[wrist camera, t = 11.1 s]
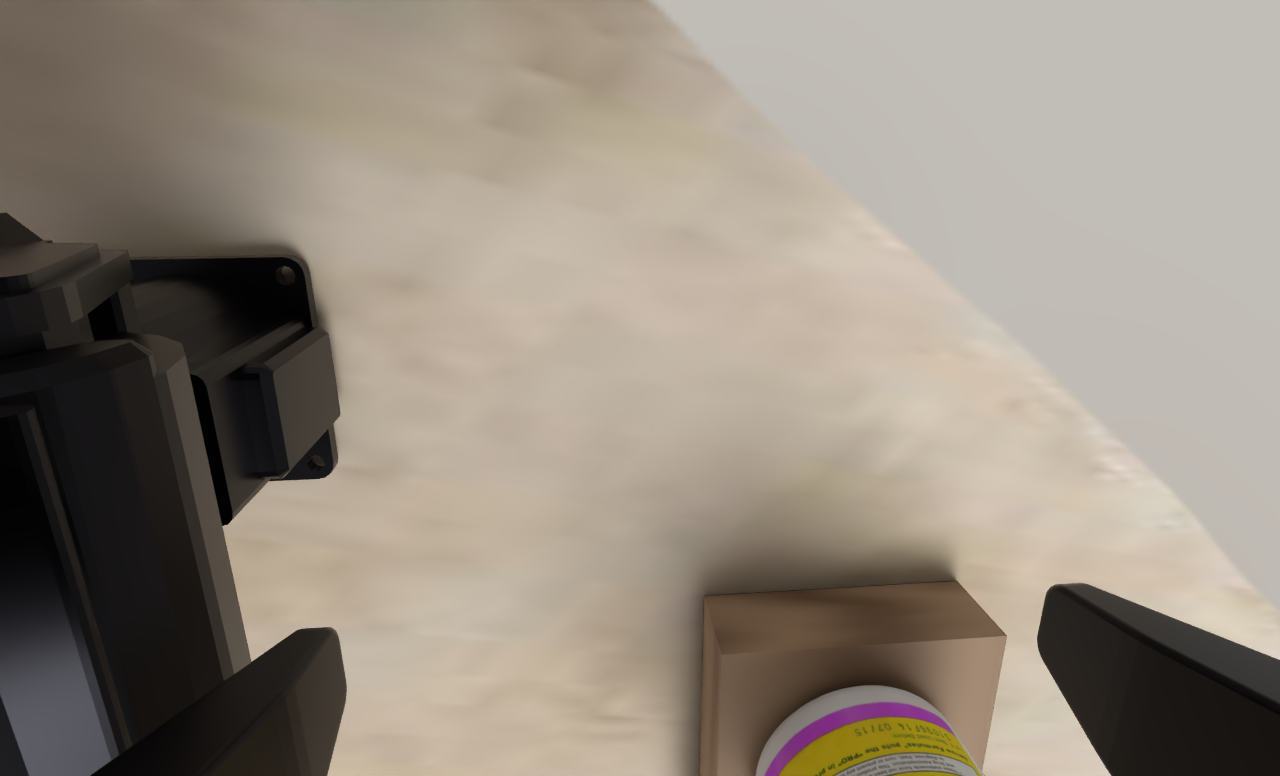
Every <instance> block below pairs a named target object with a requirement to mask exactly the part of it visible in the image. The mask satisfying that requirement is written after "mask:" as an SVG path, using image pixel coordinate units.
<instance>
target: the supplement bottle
mask: <svg viewBox="0 0 1280 776" xmlns="http://www.w3.org/2000/svg"><path fill="white" fill-rule="evenodd" d="M756 776H985V775H984V774H983V772H982V771H981V769H980V768H979V766H978V765H977V763H976V762H975V760H974V759H973V757H972V756H971V754H970V753H969V751H968V750H967V748H966V747H965V746H964V744H963V743H962V741H961V740H960V738H959V737H958V735H957V734H956V732H955V731H954V729H953V728H952V726H951V725H950V724H949V722H948V721H947V720H946V718H945V717H944V716H943V715H942V714H941V713H940V712H939V711H938V710H937V709H936V708H935V707H933V706H932V705H931V704H930V703H928V702H927V701H925V700H924V699H922V698H920V697H919V696H916V695H914V694H912V693H910V692H907V691H905V690H901V689H897V688H893V687H888V686H881V685H863V686H855V687H849V688H844V689H840V690H836V691H833V692H830V693H827V694H824V695H822V696H820V697H818V698H816V699H814V700H812V701H810V702H808V703H806V704H805V705H803V706H802V707H800V708H799V709H798V710H796V711H795V712H794V713H792V714H791V715H790V716H789V717H788V718H786V719H785V720H784V721H783V722H782V723H781V724H780V725H779V726H778V728H777V729H776V730H775V731H774V732H773V734H772V735H771V737H770V738H769V740H768V741H767V743H766V745H765V746H764V748H763V751H762V753H761V756H760V759H759V762H758V765H757V770H756Z"/></svg>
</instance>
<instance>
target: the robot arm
mask: <svg viewBox="0 0 1280 776" xmlns="http://www.w3.org/2000/svg"><path fill="white" fill-rule="evenodd" d="M284 266H286V267H289V268H291V269H292V270H293V271H294V273H295V281H294V282H293V283H291V282H287V281H286V280H285V279H283V277H282V274H281V271H282V268H283V267H284ZM339 416H340V407H339V400H338V393H337V386H336V380H335V373H334V366H333V359H332V353H331V346H330V339H329V334H328V333H327V332H326V331H325V330H324V329H323V328H322V327H318V323H317V316H316V310H315V303H314V297H313V290H312V284H311V277H310V272H309V269H308V266H307V265H306V264H305V263H304V262H303V260H301V259H299V258H298V257H296V256H290V255H266V256H209V257H152V258H129V254H128V250H99V249H98V245H97V244H89V243H53V242H52V240H42V239H41V238H39V237H38V236H37V235H35V234H34V233H33V232H31V231H30V230H29V229H27V228H26V227H25V226H23V225H22V224H21V223H19V222H18V221H17V220H15V219H14V218H13V217H11V216H10V215H9V214H7V213H0V776H327V774H328V770H329V766H330V762H331V758H332V754H333V750H334V746H335V743H336V739H337V735H338V731H339V727H340V723H341V719H342V715H343V711H344V707H345V702H346V692H347V686H346V678H345V672H344V666H343V660H342V653H341V647H340V641H339V637H338V634H337V632H336V630H334V629H333V628H331V627H324V628H306V629H300V630H297V631H295V632H294V633H292V634H291V635H289V636H288V637H287V638H285V639H284V640H282V641H281V642H279V643H278V644H277V645H275V646H274V647H272V648H271V649H269V650H268V651H267V652H265V653H264V654H262V655H261V656H260V657H258V658H257V659H255V660H254V661H252V662H251V658H250V653H249V649H248V644H247V640H246V635H245V630H244V626H243V621H242V616H241V612H240V607H239V602H238V598H237V593H236V588H235V584H234V579H233V574H232V570H231V565H230V560H229V556H228V551H227V546H226V542H225V537H224V532H223V528H222V526H224V525H227V524H229V523H230V521H231V520H232V519H233V518H234V517H235V516H236V515H237V514H238V513H239V512H240V511H241V510H242V509H243V508H244V507H245V506H246V505H247V503H248V502H249V501H250V500H251V499H252V498H253V497H254V496H255V495H256V494H257V493H258V492H259V491H260V490H261V489H262V488H263V486H264V485H265V484H266V483H267V482H268V481H281V480H304V479H320V478H325V477H326V476H328V475H329V474H330V473H331V472H332V471H333V469H334V468H335V466H336V465H337V462H338V455H337V448H336V442H335V435H334V428H333V423H334V422H335V421H336V420H337V418H338V417H339ZM314 455H316V456H320V457H321V458H323V460H324V462H325V465H323V466H320V465H317V464H315V463H314V462H313V460H312V456H314ZM1037 643H1038V649H1039V652H1040V655H1041V657H1042V660H1043V661H1044V663H1045V665H1046V666H1047V668H1048V670H1049V672H1050V673H1051V675H1052V677H1053V678H1054V680H1055V682H1056V684H1057V685H1058V687H1059V689H1060V691H1061V692H1062V694H1063V696H1064V697H1065V699H1066V701H1067V703H1068V704H1069V706H1070V708H1071V709H1072V711H1073V713H1074V715H1075V716H1076V718H1077V720H1078V721H1079V723H1080V725H1081V727H1082V728H1083V730H1084V732H1085V734H1086V735H1087V737H1088V739H1089V740H1090V742H1091V744H1092V746H1093V747H1094V749H1095V751H1096V752H1097V754H1098V755H1099V757H1100V759H1101V760H1102V762H1103V764H1104V765H1105V767H1106V768H1107V770H1108V771H1109V773H1110V774H1111V776H1280V660H1278V659H1276V658H1273V657H1271V656H1268V655H1266V654H1263V653H1260V652H1258V651H1255V650H1253V649H1250V648H1248V647H1245V646H1243V645H1240V644H1238V643H1235V642H1233V641H1230V640H1228V639H1225V638H1222V637H1220V636H1217V635H1215V634H1212V633H1210V632H1207V631H1205V630H1202V629H1200V628H1197V627H1195V626H1192V625H1190V624H1187V623H1184V622H1182V621H1179V620H1177V619H1174V618H1172V617H1169V616H1167V615H1164V614H1162V613H1159V612H1157V611H1154V610H1152V609H1149V608H1146V607H1144V606H1141V605H1139V604H1136V603H1134V602H1131V601H1129V600H1126V599H1124V598H1121V597H1119V596H1116V595H1114V594H1111V593H1108V592H1106V591H1103V590H1101V589H1098V588H1096V587H1093V586H1091V585H1088V584H1084V583H1071V584H1056V585H1054V586H1052V587H1050V588H1049V590H1048V591H1047V593H1046V596H1045V601H1044V606H1043V611H1042V616H1041V621H1040V626H1039V631H1038V636H1037Z"/></svg>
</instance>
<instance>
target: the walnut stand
mask: <svg viewBox="0 0 1280 776" xmlns="http://www.w3.org/2000/svg"><path fill="white" fill-rule="evenodd" d="M1006 639H1007V635H1006V634H1005V633H1004V632H1003V631H1002V630H1001V629H1000V628H999V627H998V625H997V624H996V623H995V622H994V621H993V620H992V619H991V618H990V617H989V616H988V614H987V613H986V612H985V611H984V610H983V609H982V608H981V607H980V606H979V605H978V603H977V602H976V601H975V600H974V599H973V598H972V597H971V596H970V595H969V594H968V592H967V591H966V590H965V589H964V588H963V587H962V586H961V585H960V584H959V583H958V581H950V582H933V583H916V584H899V585H883V586H866V587H849V588H832V589H815V590H799V591H782V592H765V593H748V594H731V595H714V596H704V617H703V656H702V695H701V735H700V774H699V776H756V770H757V765H758V762H759V759H760V756H761V753H762V751H763V748H764V746H765V745H766V743H767V741H768V740H769V738H770V737H771V735H772V734H773V732H774V731H775V730H776V729H777V728H778V726H779V725H780V724H781V723H782V722H783V721H784V720H785V719H786V718H788V717H789V716H790V715H791V714H792V713H794V712H795V711H796V710H798V709H799V708H800V707H802V706H803V705H805V704H806V703H808V702H810V701H812V700H814V699H816V698H818V697H820V696H822V695H824V694H827V693H830V692H833V691H836V690H840V689H844V688H849V687H855V686H863V685H881V686H888V687H893V688H897V689H901V690H905V691H907V692H910V693H912V694H914V695H916V696H919V697H920V698H922V699H924V700H925V701H927V702H928V703H930V704H931V705H932V706H933V707H935V708H936V709H937V710H938V711H939V712H940V713H941V714H942V715H943V716H944V717H945V718H946V720H947V721H948V722H949V724H950V725H951V726H952V728H953V729H954V731H955V732H956V734H957V735H958V737H959V738H960V740H961V741H962V743H963V744H964V746H965V747H966V748H967V750H968V751H969V753H970V754H971V756H972V757H973V759H974V760H975V762H976V763H977V765H978V766H979V768H980V769H981V771H982V768H983V763H984V758H985V752H986V747H987V741H988V736H989V730H990V725H991V720H992V714H993V709H994V703H995V698H996V693H997V687H998V682H999V676H1000V671H1001V666H1002V660H1003V655H1004V649H1005V644H1006Z"/></svg>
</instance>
